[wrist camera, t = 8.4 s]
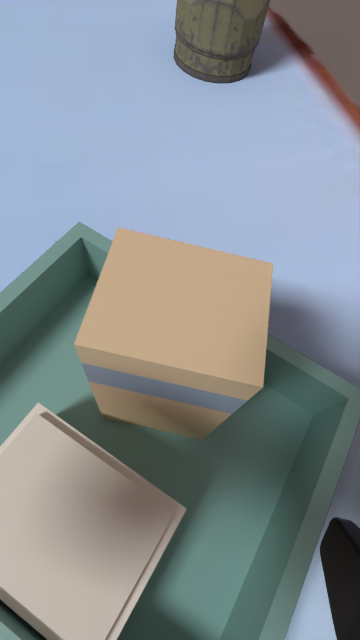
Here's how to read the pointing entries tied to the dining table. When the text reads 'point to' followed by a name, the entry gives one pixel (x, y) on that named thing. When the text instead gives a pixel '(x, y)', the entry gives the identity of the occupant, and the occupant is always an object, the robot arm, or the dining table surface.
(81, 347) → the oat carton
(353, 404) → the tote
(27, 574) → the beige rectangular block
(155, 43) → the dining table surface
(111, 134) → the dining table surface
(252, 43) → the thermos
